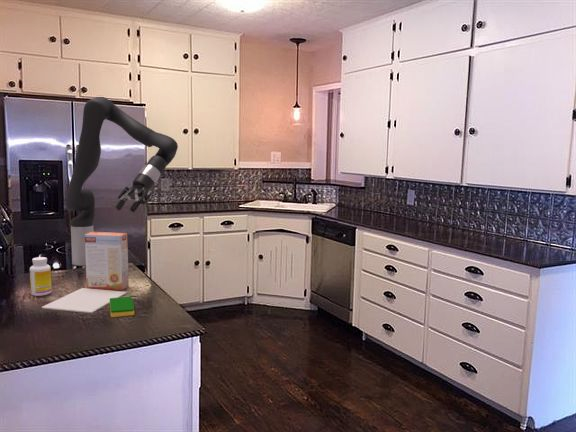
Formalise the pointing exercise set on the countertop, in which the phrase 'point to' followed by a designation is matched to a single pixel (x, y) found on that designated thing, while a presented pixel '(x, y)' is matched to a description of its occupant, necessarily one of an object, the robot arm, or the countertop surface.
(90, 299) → the mat
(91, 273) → the cracker box
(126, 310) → the dish sponge
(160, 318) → the countertop surface
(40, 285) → the supplement bottle
